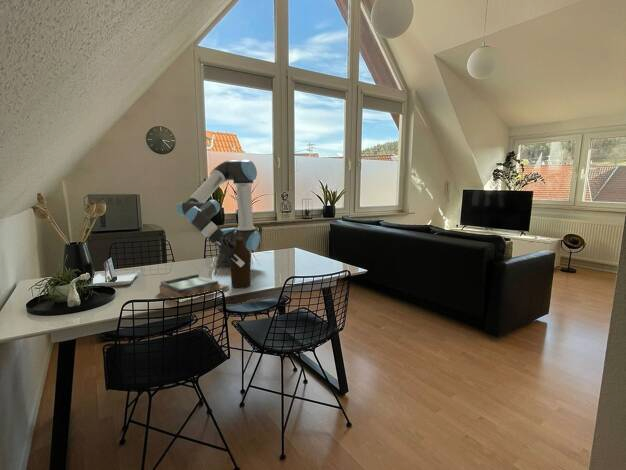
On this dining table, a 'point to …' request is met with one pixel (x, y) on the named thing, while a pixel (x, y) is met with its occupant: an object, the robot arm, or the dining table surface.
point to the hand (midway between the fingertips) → (244, 262)
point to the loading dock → (190, 286)
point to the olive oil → (239, 274)
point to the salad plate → (122, 278)
